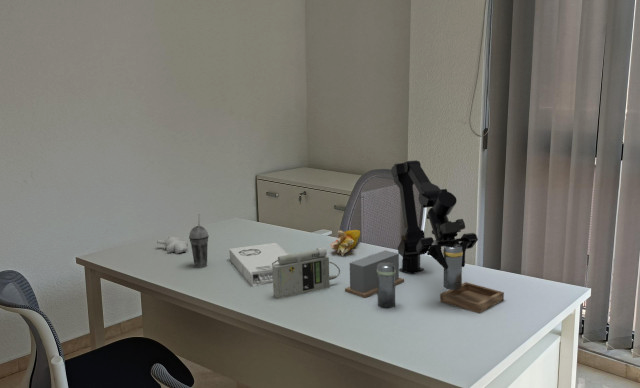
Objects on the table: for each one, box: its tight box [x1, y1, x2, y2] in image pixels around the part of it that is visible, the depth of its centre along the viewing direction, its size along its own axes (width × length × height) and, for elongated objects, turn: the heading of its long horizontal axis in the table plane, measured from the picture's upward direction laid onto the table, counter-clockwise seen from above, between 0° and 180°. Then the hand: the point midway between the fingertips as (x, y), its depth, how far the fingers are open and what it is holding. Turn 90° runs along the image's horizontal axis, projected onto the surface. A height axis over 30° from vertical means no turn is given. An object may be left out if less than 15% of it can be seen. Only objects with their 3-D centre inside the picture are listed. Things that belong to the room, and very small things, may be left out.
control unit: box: [344, 250, 405, 299], centre depth 219 cm, size 20×9×10 cm, turn 134°
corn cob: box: [330, 229, 361, 257], centre depth 263 cm, size 8×8×25 cm
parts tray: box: [439, 281, 505, 314], centre depth 205 cm, size 14×14×3 cm
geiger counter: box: [272, 246, 341, 299], centre depth 218 cm, size 14×6×25 cm
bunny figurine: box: [156, 236, 189, 254], centre depth 269 cm, size 10×5×15 cm
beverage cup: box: [188, 214, 209, 269], centre depth 245 cm, size 7×7×20 cm
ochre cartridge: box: [442, 244, 463, 290], centre depth 200 cm, size 6×6×13 cm
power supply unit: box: [228, 242, 290, 287], centre depth 242 cm, size 19×33×5 cm, turn 21°
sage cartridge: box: [377, 262, 396, 309], centre depth 203 cm, size 6×6×13 cm
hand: (454, 267), depth 199 cm, fingers closed on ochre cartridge, 5 cm apart
